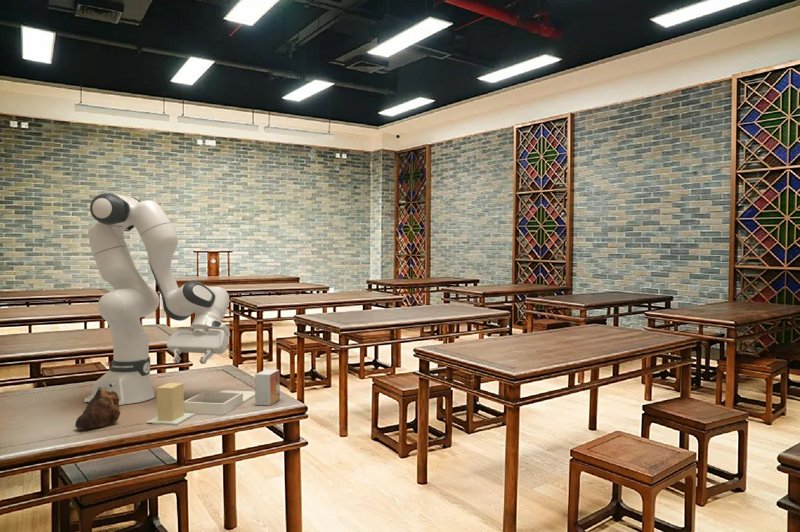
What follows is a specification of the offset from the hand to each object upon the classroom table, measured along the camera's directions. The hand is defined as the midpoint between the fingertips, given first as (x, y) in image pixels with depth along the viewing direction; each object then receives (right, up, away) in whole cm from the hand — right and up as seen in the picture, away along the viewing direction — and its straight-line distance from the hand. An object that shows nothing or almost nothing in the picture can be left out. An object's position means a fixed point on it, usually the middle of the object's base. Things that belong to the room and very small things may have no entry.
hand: (188, 362), depth 178 cm
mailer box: (+9, -15, +8) cm, 19 cm away
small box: (+24, -15, +8) cm, 29 cm away
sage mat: (-1, -16, -10) cm, 19 cm away
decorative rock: (-20, -16, -16) cm, 31 cm away
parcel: (-1, -15, -10) cm, 18 cm away
